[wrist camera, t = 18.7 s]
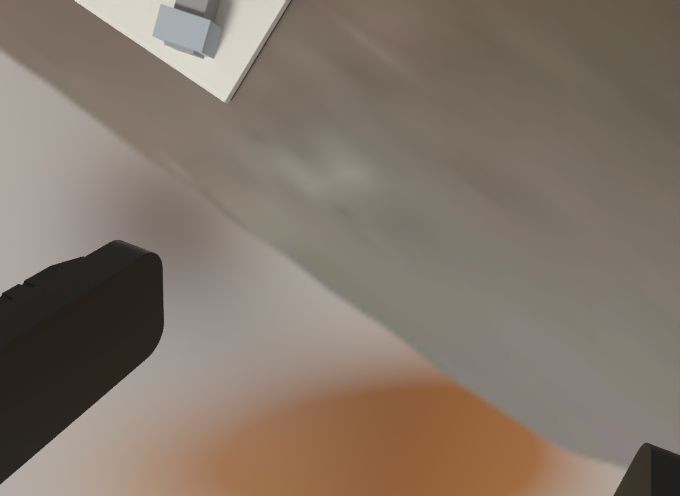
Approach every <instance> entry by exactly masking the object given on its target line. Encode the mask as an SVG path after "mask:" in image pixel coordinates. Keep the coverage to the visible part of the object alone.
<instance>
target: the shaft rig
mask: <svg viewBox="0 0 680 496" xmlns="http://www.w3.org/2000/svg"><path fill="white" fill-rule="evenodd" d="M75 1H76V2H77V3H79V4H80V5H82V6H83V7H85V8H86V9H88V10H89V11H90V12H92V13H93V14H95V15H96V16H98V17H99V18H101V19H102V20H104V21H105V22H107V23H108V24H110V25H111V26H113V27H114V28H116V29H117V30H119V31H120V32H121V33H123V34H124V35H126V36H127V37H129V38H130V39H132V40H133V41H135V42H136V43H138V44H139V45H141V46H142V47H144V48H145V49H147V50H148V51H150V52H151V53H152V54H154V55H155V56H157V57H158V58H160V59H161V60H163V61H164V62H166V63H167V64H169V65H170V66H172V67H173V68H175V69H176V70H178V71H179V72H181V73H182V74H183V75H185V76H186V77H188V78H189V79H191V80H192V81H194V82H195V83H197V84H198V85H200V86H201V87H203V88H204V89H206V90H207V91H209V92H210V93H211V94H213V95H214V96H216V97H217V98H219V99H220V100H222V101H223V102H225V103H229V102H230V100H231V99H232V97H233V95H234V94H235V92H236V90H237V89H238V87H239V85H240V84H241V82H242V80H243V79H244V77H245V75H246V74H247V72H248V70H249V69H250V67H251V65H252V64H253V62H254V61H255V59H256V57H257V56H258V54H259V52H260V51H261V49H262V47H263V46H264V44H265V42H266V41H267V39H268V37H269V36H270V34H271V32H272V31H273V29H274V28H275V26H276V24H277V23H278V21H279V19H280V18H281V16H282V14H283V13H284V11H285V9H286V8H287V6H288V4H289V3H290V1H291V0H75Z"/></svg>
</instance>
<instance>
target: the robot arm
mask: <svg viewBox="0 0 680 496" xmlns="http://www.w3.org/2000/svg"><path fill="white" fill-rule="evenodd" d="M162 271H163V268H162V261H161V259H160V257H159V256H158V255H157V254H155V253H153V252H150V251H148V250H145V249H143V248H140V247H137V246H135V245H132V244H129V243H127V242H124V241H121V240H115V241H112V242H110V243H108V244H106V245H105V246H103V247H101V248H99V249H98V250H96V251H94V252H92V253H91V254H89V255H87V256H86V257H79V258H76V259H72V260H69V261H66V262H62V263H59V264H56V265H52V266H50V267H48V268H46V269H44V270H42V271H41V272H39V273H37V274H35V275H34V276H32V277H30V278H29V279H27V280H25V281H24V283H23V285H20V284H18V285H16V286H14V287H12V288H11V289H9V290H7V291H5V292H4V293H2V296H1V297H0V484H1V483H3V481H5V480H6V479H7V478H8V477H9V476H11V475H12V474H13V473H14V472H15V471H16V470H18V469H19V468H20V467H21V466H22V465H23V464H25V463H26V462H27V461H28V460H29V459H30V458H32V457H33V456H34V455H35V454H36V453H37V452H39V451H40V450H41V449H42V448H43V447H44V446H45V445H47V444H48V443H49V442H50V441H51V440H53V438H55V437H56V436H57V435H58V434H59V433H61V432H62V431H63V430H64V429H65V428H67V427H68V426H69V425H70V424H71V423H72V422H73V421H75V420H76V419H77V418H78V417H79V416H81V415H82V414H83V413H84V412H85V411H86V410H87V409H88V408H90V407H91V406H92V405H93V404H94V403H96V402H97V401H98V400H99V399H100V398H101V397H103V396H104V395H105V394H106V393H107V392H108V391H110V390H111V389H112V388H113V387H114V386H115V385H117V384H118V383H119V382H120V381H121V380H122V379H123V378H125V377H126V376H127V375H128V374H129V373H130V372H132V371H133V370H134V369H135V368H136V367H137V366H139V365H140V364H141V363H142V362H143V361H145V359H147V358H148V357H149V356H150V355H151V354H152V352H153V351H154V350H155V348H156V347H157V345H158V343H159V341H160V338H161V336H162V332H163V327H164V310H163V272H162ZM614 496H680V455H678V454H675V453H673V452H670V451H667V450H665V449H662V448H659V447H657V446H654V445H652V444H649V443H645V444H643V445H642V446H641V447H640V449H639V450H638V452H637V454H636V455H635V457H634V459H633V461H632V463H631V465H630V466H629V468H628V470H627V472H626V474H625V476H624V477H623V479H622V481H621V483H620V485H619V487H618V489H617V490H616V492H615V494H614Z"/></svg>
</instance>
